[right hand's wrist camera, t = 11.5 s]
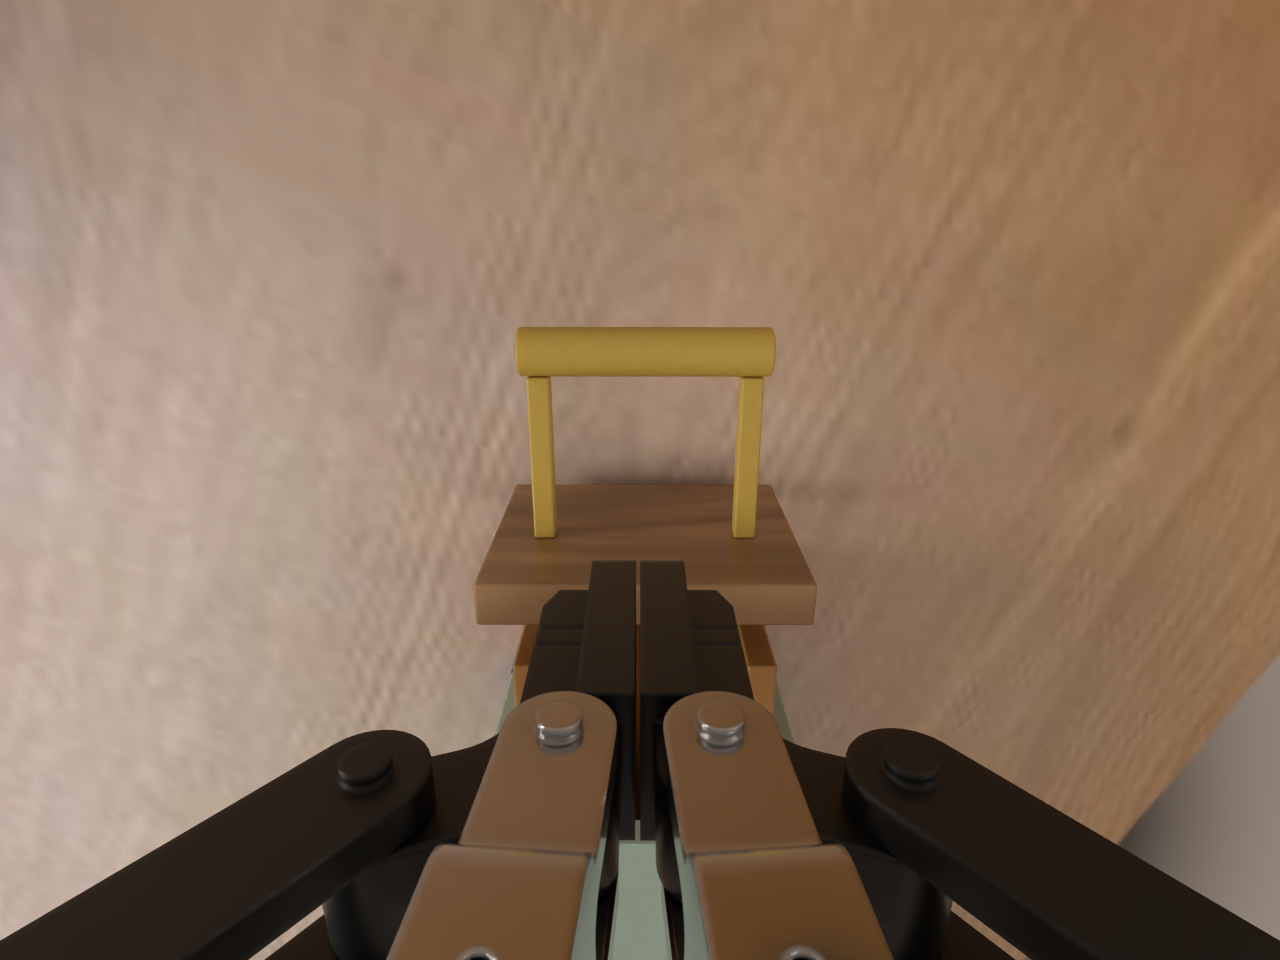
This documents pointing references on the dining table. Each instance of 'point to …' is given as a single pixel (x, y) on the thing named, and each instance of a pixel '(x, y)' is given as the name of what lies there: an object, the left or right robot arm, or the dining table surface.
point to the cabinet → (642, 874)
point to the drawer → (648, 501)
